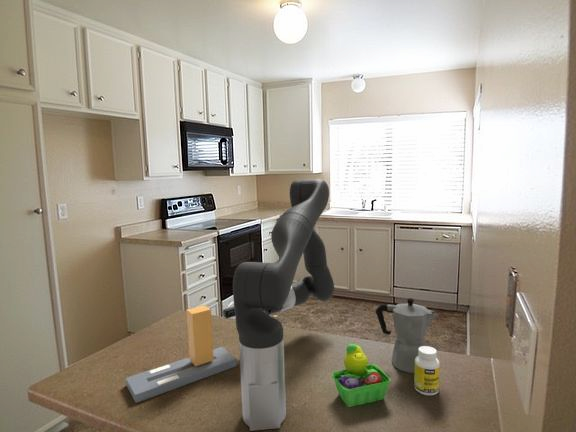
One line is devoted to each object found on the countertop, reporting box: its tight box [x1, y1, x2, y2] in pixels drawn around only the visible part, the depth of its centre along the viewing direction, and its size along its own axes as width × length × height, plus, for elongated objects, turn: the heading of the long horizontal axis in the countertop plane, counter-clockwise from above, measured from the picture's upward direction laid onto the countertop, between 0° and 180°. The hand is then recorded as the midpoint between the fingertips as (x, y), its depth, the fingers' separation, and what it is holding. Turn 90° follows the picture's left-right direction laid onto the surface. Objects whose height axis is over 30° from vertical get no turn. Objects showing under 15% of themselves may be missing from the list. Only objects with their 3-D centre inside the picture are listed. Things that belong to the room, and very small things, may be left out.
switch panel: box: [125, 346, 238, 404], centre depth 96 cm, size 26×9×2 cm, turn 126°
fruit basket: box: [331, 342, 391, 408], centre depth 85 cm, size 11×9×11 cm
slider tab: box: [186, 305, 214, 366], centre depth 98 cm, size 5×4×14 cm
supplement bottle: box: [413, 345, 441, 396], centre depth 87 cm, size 5×5×10 cm
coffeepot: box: [375, 297, 439, 374], centre depth 98 cm, size 15×9×18 cm, turn 67°
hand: (224, 314), depth 102 cm, fingers closed
